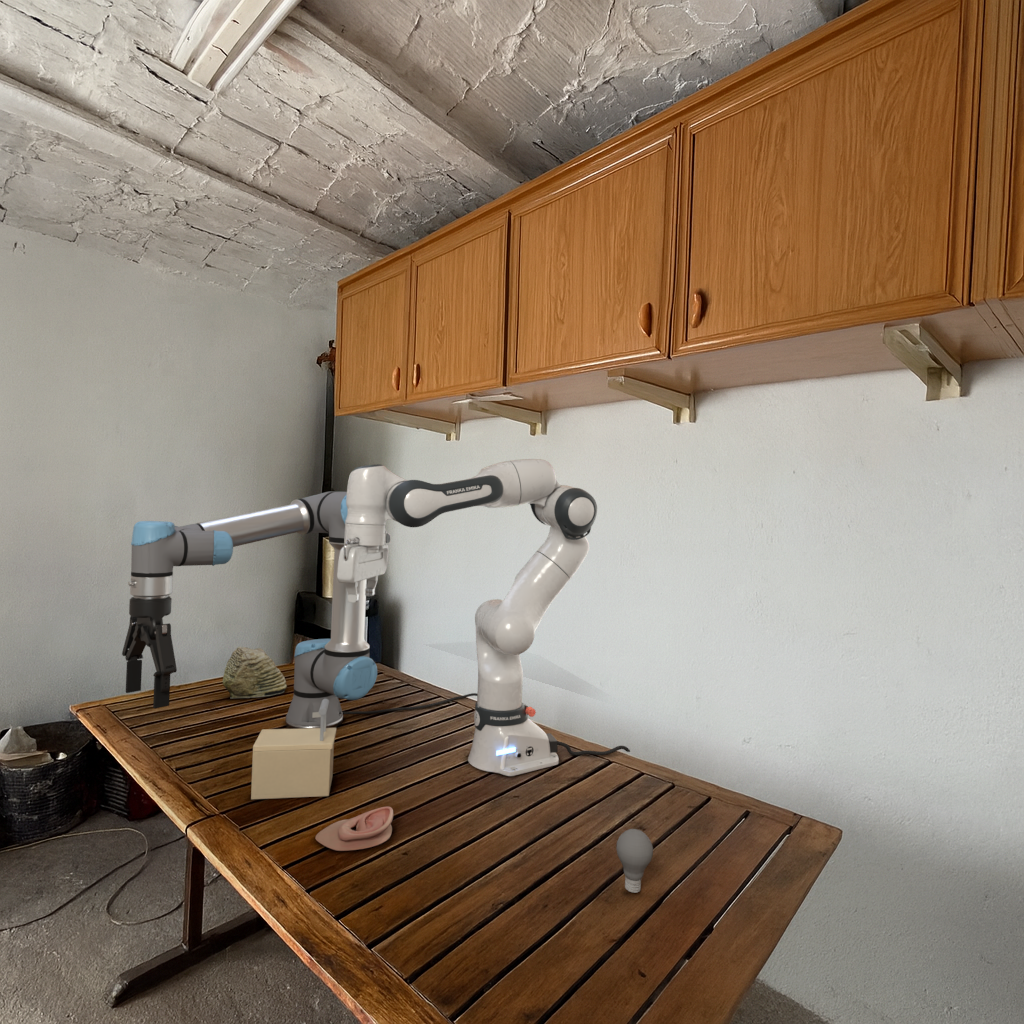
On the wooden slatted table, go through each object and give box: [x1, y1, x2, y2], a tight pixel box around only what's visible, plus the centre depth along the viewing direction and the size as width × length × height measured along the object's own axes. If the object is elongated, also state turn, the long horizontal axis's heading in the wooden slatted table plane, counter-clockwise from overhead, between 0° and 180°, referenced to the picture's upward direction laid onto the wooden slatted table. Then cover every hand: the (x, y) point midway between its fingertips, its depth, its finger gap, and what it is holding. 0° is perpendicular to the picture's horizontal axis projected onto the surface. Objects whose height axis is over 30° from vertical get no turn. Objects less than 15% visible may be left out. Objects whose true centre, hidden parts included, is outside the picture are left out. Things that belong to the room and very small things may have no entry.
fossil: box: [222, 646, 288, 699], centre depth 198 cm, size 9×18×15 cm, turn 132°
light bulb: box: [615, 828, 654, 894], centre depth 106 cm, size 6×6×10 cm
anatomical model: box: [315, 806, 394, 852], centre depth 119 cm, size 13×4×12 cm
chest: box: [250, 744, 335, 800], centre depth 137 cm, size 16×10×10 cm, turn 101°
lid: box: [252, 699, 337, 752], centre depth 137 cm, size 16×10×8 cm, turn 101°
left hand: (146, 699), depth 130 cm, fingers open, 13 cm apart
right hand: (361, 598), depth 141 cm, fingers open, 8 cm apart
